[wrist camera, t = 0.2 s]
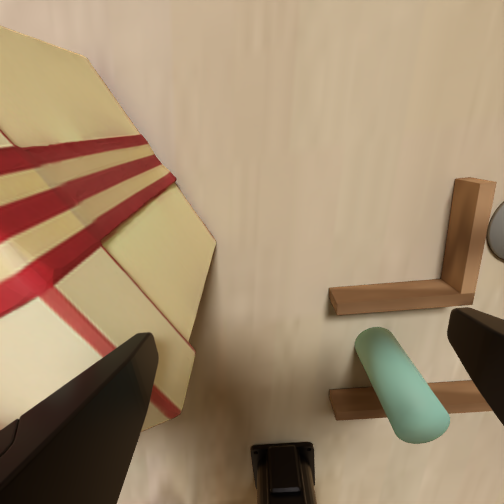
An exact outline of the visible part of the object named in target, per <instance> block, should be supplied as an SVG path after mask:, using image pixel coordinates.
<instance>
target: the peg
mask: <svg viewBox="0 0 504 504" xmlns="http://www.w3.org/2000/svg"><path fill="white" fill-rule="evenodd" d="M355 350H356V352H357V354H358V356H359V358H360V361H361V363H362V365H363V367H364V369H365V371H366V373H367V375H368V377H369V379H370V382H371V384H372V386H373V388H374V390H375V392H376V394H377V396H378V398H379V400H380V402H381V405H382V407H383V409H384V411H385V413H386V415H387V417H388V419H389V421H390V423H391V426H392V428H393V430H394V432H395V434H396V435H397V437H398V438H399V439H401V440H403V441H405V442H408V443H413V444H420V443H426V442H430V441H433V440H435V439H437V438H438V437H440V436H441V435H442V434H443V433H444V432H445V431H446V430H447V428H448V426H449V424H450V417H449V414H448V412H447V411H446V410H445V408H444V407H443V405H442V404H441V402H440V401H439V400H438V398H437V397H436V395H435V394H434V393H433V391H432V390H431V388H430V387H429V385H428V384H427V383H426V381H425V380H424V378H423V377H422V376H421V374H420V373H419V371H418V370H417V368H416V367H415V366H414V364H413V363H412V361H411V360H410V358H409V357H408V356H407V354H406V353H405V351H404V350H403V349H402V347H401V346H400V344H399V343H398V341H397V340H396V339H395V337H394V336H393V334H392V333H391V332H390V331H389V330H387V329H385V328H381V327H373V328H369V329H367V330H365V331H363V332H362V333H361V334H360V335H359V336H358V337H357V339H356V341H355Z"/></svg>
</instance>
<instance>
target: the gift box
mask: <svg viewBox="0 0 504 504" xmlns="http://www.w3.org/2000/svg"><path fill="white" fill-rule="evenodd" d="M176 180H177V179H176V177H174V176H173V174H172V173H171V172H170V171H169V170H168V169H167V168H166V167H164V166H163V165H162V164H161V162H160V161H159V160H158V159H157V157H156V156H155V154H154V152H153V151H152V149H151V147H150V145H149V144H148V142H147V141H146V140H145V138H144V137H143V136H142V135H141V134H140V133H139V132H138V130H137V129H136V127H135V126H134V125H133V123H132V122H131V120H130V119H129V117H128V116H127V115H126V113H125V112H124V110H123V109H122V107H121V106H120V105H119V103H118V102H117V100H116V99H115V97H114V96H113V95H112V93H111V92H110V90H109V89H108V87H107V86H106V84H105V83H104V82H103V80H102V79H101V77H100V76H99V75H98V73H97V72H96V70H95V69H94V68H93V66H92V65H91V63H90V62H89V60H88V59H87V58H86V57H84V56H83V55H80V54H77V53H74V52H72V51H69V50H66V49H63V48H61V47H58V46H55V45H53V44H50V43H47V42H44V41H41V40H39V39H36V38H33V37H30V36H27V35H25V34H22V33H19V32H16V31H13V30H11V29H8V28H5V27H3V26H0V430H2V429H3V428H4V427H6V426H7V425H9V424H10V423H11V422H13V421H14V420H15V419H19V418H20V416H21V415H23V414H24V413H25V412H27V411H28V410H30V409H31V408H33V407H34V406H35V405H37V404H38V403H40V402H41V401H42V400H44V399H45V398H47V397H48V396H49V395H51V394H52V393H54V392H55V391H56V390H58V389H59V388H61V387H62V386H64V385H65V384H66V383H68V382H69V381H71V380H72V379H73V378H75V377H76V376H78V375H79V374H80V373H82V372H83V371H85V370H86V369H87V368H89V367H90V366H92V365H93V364H95V363H96V362H97V361H99V360H100V359H102V358H103V357H104V356H106V355H107V354H109V353H110V352H111V351H113V350H114V349H116V348H117V347H118V346H120V345H121V344H123V343H124V342H125V341H127V340H128V339H130V338H131V337H133V336H134V335H135V334H137V333H143V332H151V333H152V334H153V336H154V339H155V343H156V347H157V350H158V355H159V362H158V367H157V371H156V376H155V380H154V385H153V389H152V394H151V398H150V403H149V407H148V411H147V414H146V417H145V421H144V424H143V427H142V430H141V432H142V431H145V430H147V429H149V428H152V427H154V426H156V425H159V424H161V423H163V422H166V421H168V420H170V419H173V418H174V417H176V416H178V415H180V414H181V411H182V408H183V405H184V401H185V396H186V392H187V388H188V384H189V380H190V376H191V371H192V367H193V363H194V359H195V355H196V352H195V349H194V348H193V347H192V346H191V345H190V343H189V338H190V335H191V331H192V328H193V325H194V321H195V318H196V314H197V310H198V306H199V302H200V299H201V296H202V292H203V288H204V284H205V281H206V277H207V273H208V270H209V266H210V263H211V259H212V255H213V252H214V249H215V246H216V240H215V239H214V237H213V236H212V234H211V233H210V232H209V230H208V229H207V227H206V226H205V224H204V223H203V222H202V220H201V219H200V218H199V216H198V215H197V214H196V212H195V211H194V209H193V208H192V207H191V205H190V204H189V202H188V201H187V200H186V198H185V197H184V195H183V194H182V192H181V191H180V189H179V188H178V186H177V185H176V184H175V181H176Z"/></svg>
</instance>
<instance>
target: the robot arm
mask: <svg viewBox="0 0 504 504" xmlns="http://www.w3.org/2000/svg"><path fill="white" fill-rule="evenodd" d="M447 336H448V340H449V342H450V344H451V345H452V347H453V349H454V350H455V352H456V354H457V355H458V357H459V359H460V361H461V362H462V364H463V366H464V367H465V369H466V371H467V372H468V374H469V376H470V378H471V379H472V381H473V383H474V384H475V386H476V387H477V389H478V391H479V392H480V393H481V395H482V396H483V398H484V399H485V401H486V402H487V403H488V405H489V406H490V407H491V409H492V410H493V412H494V413H495V414H496V416H497V417H498V419H499V420H500V421H501V423H502V424H503V425H504V320H503V319H500V318H497V317H494V316H492V315H489V314H486V313H483V312H480V311H478V310H475V309H472V308H468V307H466V308H455V309H453V310H452V311H451V314H450V319H449V325H448V330H447ZM158 362H159V355H158V350H157V347H156V343H155V339H154V336H153V334H152V333H151V332H143V333H137V334H135V335H134V336H133V337H131V338H130V339H128V340H127V341H125V342H124V343H123V344H121V345H120V346H118V347H117V348H116V349H114V350H113V351H111V352H110V353H109V354H107V355H106V356H104V357H103V358H102V359H100V360H99V361H97V362H96V363H95V364H93V365H92V366H90V367H89V368H87V369H86V370H85V371H83V372H82V373H80V374H79V375H78V376H76V377H75V378H73V379H72V380H71V381H69V382H68V383H66V384H65V385H64V386H62V387H61V388H59V389H58V390H56V391H55V392H54V393H52V394H51V395H49V396H48V397H47V398H45V399H44V400H42V401H41V402H40V403H38V404H37V405H35V406H34V407H33V408H31V409H30V410H28V411H27V412H25V413H24V414H23V415H21V416H20V418H19V419H15V420H14V421H13V422H11V423H10V424H9V425H7V426H6V427H4V428H3V429H2V430H0V504H117V501H118V498H119V495H120V492H121V489H122V486H123V483H124V480H125V477H126V474H127V471H128V468H129V465H130V462H131V459H132V456H133V453H134V450H135V447H136V445H137V442H138V439H139V436H140V433H141V430H142V427H143V424H144V421H145V417H146V414H147V411H148V407H149V403H150V398H151V394H152V389H153V385H154V380H155V376H156V371H157V367H158ZM251 457H252V464H253V471H254V478H255V485H256V489H257V504H317V502H316V496H315V490H314V485H315V469H314V447H313V444H312V443H292V444H275V445H258V446H253V447H252V448H251Z"/></svg>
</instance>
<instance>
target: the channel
mask: <svg viewBox="0 0 504 504" xmlns="http://www.w3.org/2000/svg"><path fill="white" fill-rule="evenodd" d="M496 183H497V182H493V181H487V180H482V179H476V178H471V177H468V178H458V179H455V186H454V193H453V199H452V206H451V213H450V220H449V227H448V233H447V240H446V247H445V254H444V261H443V267H442V274H441V279H433V280H421V281H408V282H396V283H383V284H371V285H358V286H346V287H333V288H329V299H330V301H331V303H332V305H333V307H334V309H335V311H336V314H337V315H344V314H357V313H370V312H384V311H397V310H410V309H423V308H436V307H449V306H462V305H473V300H474V294H475V289H476V284H477V279H478V274H479V269H480V264H481V259H482V254H483V249H484V244H485V239H486V233H487V228H488V223H489V218H490V213H491V208H492V203H493V198H494V193H495V188H496ZM427 384H428V385H429V387H430V388H431V390H432V391H433V393H434V394H435V395H436V397H437V398H438V400H439V401H440V402H441V404H442V405H443V407H444V408H445V410H446V411H447V412H448V414H450V413H466V412H482V411H493V410H492V409H491V407H490V406H489V405H488V403H487V402H486V401H485V399H484V398H483V396H482V395H481V393H480V392H479V391H478V389H477V387H476V386H475V384H474V383H473V381H472V380H469V381H454V382H438V383H427ZM330 401H331V404H332V408H333V411H334V415H335V418H336V421H337V420H353V419H369V418H385V417H387V415H386V413H385V411H384V409H383V407H382V405H381V402H380V400H379V398H378V396H377V394H376V392H375V390H374V388H373V387H363V388H348V389H333V390H330Z"/></svg>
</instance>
